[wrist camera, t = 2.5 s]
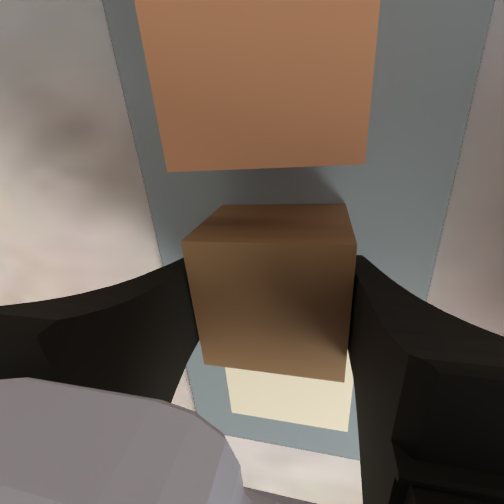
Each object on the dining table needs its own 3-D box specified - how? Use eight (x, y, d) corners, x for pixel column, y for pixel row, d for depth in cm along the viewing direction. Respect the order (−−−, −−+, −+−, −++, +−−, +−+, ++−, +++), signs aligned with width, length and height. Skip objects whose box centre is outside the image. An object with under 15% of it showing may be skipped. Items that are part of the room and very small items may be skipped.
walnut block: (337, 310, 13) (344, 382, 9) (233, 302, 14) (204, 364, 10) (345, 203, 11) (357, 245, 7) (222, 204, 12) (180, 240, 8)
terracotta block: (349, 147, 10) (365, 164, 6) (216, 155, 11) (167, 172, 8) (362, -42, 8) (396, -174, 4) (197, -9, 9) (116, -91, 5)
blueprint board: (387, 458, 17) (388, 466, 17) (203, 424, 20) (200, 430, 19) (513, -117, 7) (525, -131, 7) (104, -23, 10) (95, -28, 9)
